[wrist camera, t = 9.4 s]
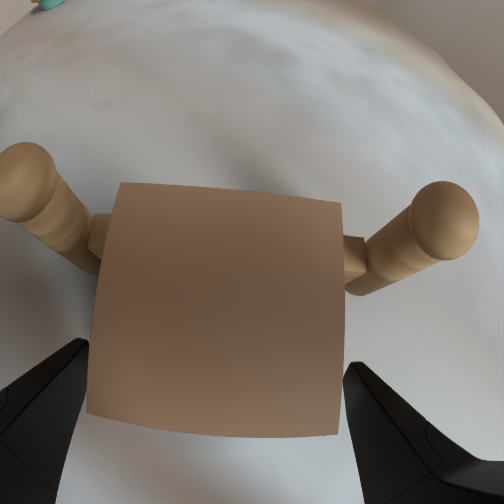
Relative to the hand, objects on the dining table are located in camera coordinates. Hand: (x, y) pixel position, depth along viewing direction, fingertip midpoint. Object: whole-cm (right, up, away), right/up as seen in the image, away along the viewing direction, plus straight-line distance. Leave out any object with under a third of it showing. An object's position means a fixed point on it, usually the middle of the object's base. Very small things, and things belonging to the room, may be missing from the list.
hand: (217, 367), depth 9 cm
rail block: (-1, -1, +8) cm, 8 cm away
